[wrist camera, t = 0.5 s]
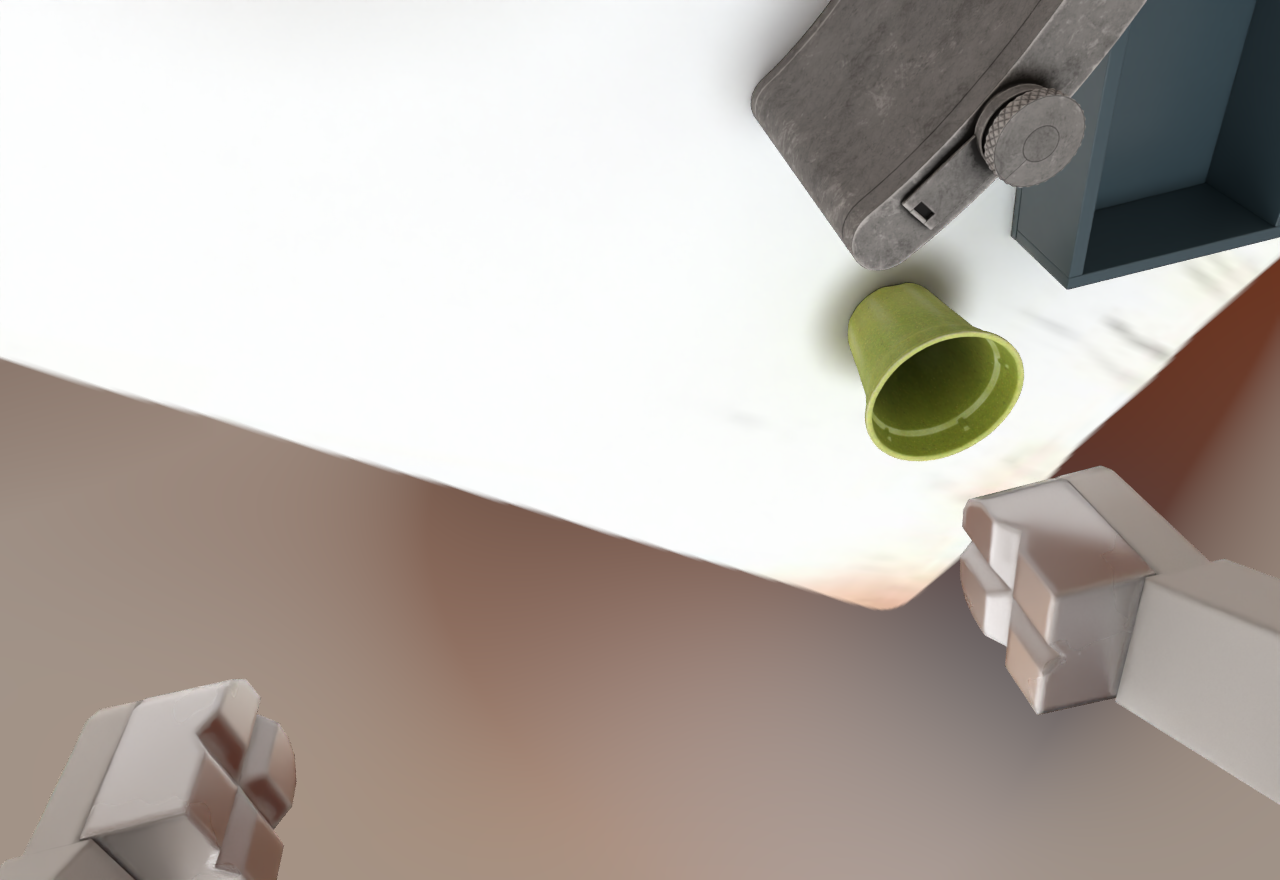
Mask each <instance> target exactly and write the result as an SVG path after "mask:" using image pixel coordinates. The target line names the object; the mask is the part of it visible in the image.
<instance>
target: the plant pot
mask: <svg viewBox="0 0 1280 880" xmlns="http://www.w3.org/2000/svg"><path fill="white" fill-rule="evenodd" d="M848 343H849V346H850V349H851V352H852V355H853V358H854V361H855V363H856V366H857V369H858V372H859V375H860V378H861V382H862V385H863V388H864V391H865V394H866V411H865V423H866V428H867V431H868V434H869V436H870V438H871V440H872V441H873V443H874V444H875V445H876V446H877V447H878V448H879V449H880V450H881V451H883V452H884V453H886V454H888V455H890V456H892V457H894V458H898V459H901V460H908V461H928V460H935V459H940V458H944V457H948V456H950V455H953V454H956V453H958V452H961V451H963V450H965V449H967V448H969V447H971V446H973V445H974V444H976V443H978V442H979V441H981V440H982V439H984V438H985V437H987V436H988V435H989V434H990V433H991V432H992V431H994V430H995V429H996V428H997V427H998V426H999V425H1000V424H1001V423H1002V422H1003V421H1004V419H1005V418H1006V417H1007V416H1008V414H1009V413H1010V412H1011V410H1012V408H1013V407H1014V405H1015V403H1016V402H1017V400H1018V398H1019V396H1020V393H1021V390H1022V386H1023V381H1024V369H1023V363H1022V360H1021V357H1020V355H1019V353H1018V352H1017V350H1016V349H1015V348H1014V347H1013V346H1012V345H1011V344H1010V343H1009V342H1008V341H1007V340H1005V339H1004V338H1002V337H1000V336H998V335H996V334H994V333H991V332H987V331H982V330H981V329H978V328H976V327H973V326H972V325H970V324H969V323H968V322H967V321H966V320H964V319H963V318H962V317H961V316H959V315H958V314H957V313H955V312H954V311H953V310H952V309H950V308H949V307H948V306H947V305H945V304H944V303H943V302H942V301H941V300H939V299H938V298H937V297H936V296H935V295H933V294H932V293H931V292H930V291H929V290H927V289H926V288H924V287H923V286H920V285H918V284H914V283H903V284H900V285H895V286H889V287H883V288H880V289H878V290H876V291H874V292H873V293H871V294H870V295H869V296H867V297H866V298H865V299H864V300H863V301H862V302H861V303H860V304H859V305H858V306H857V308H856V309H855V311H854V312H853V314H852V316H851V318H850V321H849V325H848Z"/></svg>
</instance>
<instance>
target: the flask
mask: <svg viewBox="0 0 1280 880" xmlns="http://www.w3.org/2000/svg"><path fill="white" fill-rule="evenodd" d="M1146 1H1147V0H831V1H830V3H829V4H828V6H827V7H826V8H825V10H824V11H823V12H822V13H821V15H820V16H819V17H818V19H817V20H816V21H815V22H814V24H813V25H812V26H811V27H810V29H809V30H808V31H807V32H806V33H805V34H804V36H803V37H802V38H801V39H800V40H799V42H798V43H797V44H796V45H795V46H794V47H793V48H792V49H791V51H790V52H789V53H788V54H787V55H786V56H785V57H784V58H783V59H782V60H781V61H780V62H779V63H778V64H777V65H776V67H775V68H774V69H773V70H771V71H770V72H769V73H768V74H767V75H766V76H765V77H764V78H763V79H762V80H761V81H760V82H759V84H758V85H757V86H756V88H755V89H754V92H753V94H752V99H751V109H752V112H753V115H754V117H755V118H756V120H757V121H758V123H759V124H760V125H761V127H762V128H763V130H764V131H765V132H766V134H767V135H768V137H769V138H770V140H771V141H772V142H773V144H774V145H775V147H776V148H777V149H778V151H779V152H780V154H781V155H782V156H783V158H784V159H785V161H786V162H787V164H788V165H789V166H790V168H791V169H792V171H793V172H794V173H795V175H796V176H797V178H798V179H799V181H800V182H801V183H802V185H803V186H804V188H805V189H806V190H807V192H808V193H809V195H810V196H811V198H812V199H813V200H814V202H815V203H816V205H817V206H818V207H819V209H820V210H821V212H822V213H823V215H824V216H825V217H826V219H827V220H828V222H829V223H830V224H831V226H832V227H833V229H834V230H835V232H836V233H837V234H838V236H839V237H840V239H841V240H842V241H843V243H844V244H845V246H846V247H847V249H848V250H849V251H850V253H851V254H852V256H853V257H854V258H855V260H856V261H857V262H858V263H859V264H860V265H861V266H862V267H864V268H866V269H870V270H886V269H889V268H892V267H894V266H896V265H899V264H900V263H902V262H903V261H905V260H906V259H907V258H908V257H910V256H911V255H912V254H913V253H915V252H916V251H917V250H918V249H919V248H921V247H922V246H923V245H924V244H926V243H927V242H928V241H929V240H930V239H931V238H933V237H934V236H935V235H936V234H937V233H938V232H940V231H941V230H942V229H943V228H944V227H945V226H947V225H948V224H949V223H950V222H951V221H952V220H953V219H954V218H955V217H957V216H958V215H959V214H960V213H961V212H962V211H963V210H964V209H965V208H966V207H967V206H969V205H970V204H971V203H972V202H973V201H974V200H975V199H976V198H977V197H978V196H979V195H980V194H981V193H982V192H983V191H984V190H985V189H986V188H987V187H988V186H989V185H990V184H991V183H992V182H993V181H994V180H995V179H996V178H997V177H999V179H1001V180H1003V181H1004V182H1005V183H1006V184H1010V185H1011V186H1017V187H1020V188H1021V187H1030V186H1033V185H1038V184H1040V183H1042V182H1046V181H1047V180H1049V179H1050V178H1052V177H1054V176H1055V175H1056V174H1057V173H1058V172H1060V171H1062V170H1063V169H1064V167H1065V166H1066V165H1067V164H1068V163H1070V161H1071V159H1072V158H1073V157H1074V156H1075V155H1076V153H1077V150H1078V148H1079V147H1080V146H1081V142H1082V139H1083V137H1084V131H1085V128H1086V126H1085V120H1086V119H1085V116H1084V111H1083V110H1082V109H1081V106H1080V104H1078V103H1077V102H1076V101H1075V99H1072V98H1071V97H1072V96H1073V95H1074V93H1075V92H1076V91H1077V90H1078V89H1079V88H1080V86H1081V85H1082V84H1083V83H1084V81H1085V80H1086V79H1087V78H1088V77H1089V75H1090V74H1091V73H1092V72H1093V70H1094V69H1095V68H1096V67H1097V66H1098V64H1099V63H1100V62H1101V61H1102V59H1103V58H1104V57H1105V55H1106V54H1107V53H1108V52H1109V50H1110V49H1111V48H1112V47H1113V45H1114V44H1115V43H1116V42H1117V40H1118V39H1119V38H1120V36H1121V35H1122V34H1123V32H1124V31H1125V30H1126V28H1127V27H1128V26H1129V24H1130V23H1131V21H1132V20H1133V19H1134V17H1135V16H1136V15H1137V13H1138V12H1139V11H1140V9H1141V8H1142V7H1143V5H1144V4H1145V2H1146Z"/></svg>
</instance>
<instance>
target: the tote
mask: <svg viewBox="0 0 1280 880" xmlns="http://www.w3.org/2000/svg"><path fill="white" fill-rule="evenodd" d="M1071 98H1072V99H1075V101H1076V102H1077V103H1078V104H1080V106H1081V109H1082V110H1083V111H1084V116H1085V119H1086V120H1085V126H1086V128H1085V131H1084V137H1083V139H1082V142H1081V146H1080V147H1079V148H1078V150H1077V153H1076V155H1075V156H1074V157H1073V158H1072V159H1071V161H1070V163H1068V164H1067V165H1066V166H1065V167H1064V169H1063V170H1062V171H1060V172H1058V173H1057V174H1056V175H1055V176H1054V177H1052V178H1050V179H1049V180H1047V181H1046V182H1042V183H1040V184H1038V185H1033V186H1030V187H1021V188H1020V187H1017V193H1016V201H1015V209H1014V217H1013V226H1012V234H1011V236H1012V237H1013V238H1014V239H1015V240H1016V241H1017V242H1018V243H1019V244H1020V245H1021V246H1022V247H1023V248H1024V249H1025V250H1026V251H1027V252H1028V253H1029V254H1030V255H1031V256H1032V257H1034V258H1035V259H1036V260H1037V261H1038V262H1039V263H1040V264H1041V265H1042V266H1043V267H1044V268H1045V269H1046V270H1047V271H1048V272H1049V273H1050V274H1051V275H1052V276H1053V277H1054V278H1055V279H1056V280H1057V281H1058V282H1059V283H1060V284H1062V285H1063V286H1064V287H1065V288H1066V289H1072V288H1076V287H1080V286H1084V285H1089V284H1093V283H1097V282H1101V281H1105V280H1109V279H1113V278H1117V277H1121V276H1125V275H1129V274H1133V273H1137V272H1141V271H1145V270H1149V269H1153V268H1157V267H1161V266H1165V265H1169V264H1173V263H1177V262H1182V261H1186V260H1190V259H1194V258H1198V257H1202V256H1206V255H1210V254H1214V253H1218V252H1222V251H1226V250H1230V249H1234V248H1238V247H1242V246H1246V245H1250V244H1254V243H1258V242H1262V241H1266V240H1271V239H1275V238H1279V237H1280V0H1147V1H1146V2H1145V4H1144V5H1143V7H1142V8H1141V9H1140V11H1139V12H1138V13H1137V15H1136V16H1135V17H1134V19H1133V20H1132V21H1131V23H1130V24H1129V26H1128V27H1127V28H1126V30H1125V31H1124V32H1123V34H1122V35H1121V36H1120V38H1119V39H1118V40H1117V42H1116V43H1115V44H1114V45H1113V47H1112V48H1111V49H1110V50H1109V52H1108V53H1107V54H1106V55H1105V57H1104V58H1103V59H1102V61H1101V62H1100V63H1099V64H1098V66H1097V67H1096V68H1095V69H1094V70H1093V72H1092V73H1091V74H1090V75H1089V77H1088V78H1087V79H1086V80H1085V81H1084V83H1083V84H1082V85H1081V86H1080V88H1079V89H1078V90H1077V91H1076V92H1075V93H1074V95H1073V96H1072V97H1071Z"/></svg>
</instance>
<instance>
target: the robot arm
mask: <svg viewBox="0 0 1280 880" xmlns="http://www.w3.org/2000/svg"><path fill="white" fill-rule="evenodd" d="M962 527H963V528H964V530H965V531H966V533H967V534H968V535H969V537H970V538H971V540H972V542H971V543H970V544H969V545H968V547H967V548H966V549H965V550H964V552H963V553H962V554H961V556H960V579H961V583H962V587H963V592H964V596H965V600H966V602H967V604H968V607H969V609H970V611H971V613H972V615H973V617H974V619H975V621H976V622H977V624H978V625H979V627H980V628H981V630H982V632H983V633H984V635H986V636H988V637H989V638H991V639H993V640H995V641H997V642H999V643H1001V644H1003V645H1005V646H1007V653H1006V662H1005V667H1006V668H1007V670H1008V671H1009V673H1010V674H1011V676H1012V677H1013V679H1014V680H1015V682H1016V683H1017V685H1018V686H1019V688H1020V689H1021V691H1022V692H1023V694H1024V695H1025V697H1026V698H1027V700H1028V701H1029V703H1030V704H1031V706H1032V707H1033V709H1034V710H1035V712H1036V713H1037V715H1040V714H1045V713H1049V712H1054V711H1058V710H1063V709H1067V708H1072V707H1076V706H1081V705H1085V704H1090V703H1094V702H1099V701H1103V700H1108V699H1112V698H1116V701H1115V702H1116V703H1118V704H1120V705H1121V706H1123V707H1124V708H1126V709H1128V710H1129V711H1131V712H1132V713H1134V714H1135V715H1137V716H1139V717H1140V718H1142V719H1144V720H1145V721H1147V722H1148V723H1150V724H1152V725H1153V726H1155V727H1156V728H1158V729H1159V730H1161V731H1163V732H1164V733H1166V734H1167V735H1169V736H1171V737H1173V738H1174V739H1175V740H1177V741H1179V742H1180V743H1182V744H1184V745H1185V746H1187V747H1188V748H1190V749H1191V750H1193V751H1195V752H1196V753H1198V754H1200V755H1201V756H1203V757H1204V758H1206V759H1207V760H1209V761H1211V762H1212V763H1214V764H1215V765H1217V766H1219V767H1220V768H1222V769H1223V770H1225V771H1227V772H1228V773H1230V774H1232V775H1233V776H1235V777H1236V778H1238V779H1239V780H1241V781H1243V782H1244V783H1246V784H1248V785H1249V786H1251V787H1252V788H1254V789H1255V790H1257V791H1259V792H1260V793H1262V794H1263V795H1265V796H1267V797H1268V798H1270V799H1271V800H1273V801H1275V802H1276V803H1278V804H1279V805H1280V579H1279V578H1276V577H1273V576H1270V575H1268V574H1265V573H1262V572H1259V571H1257V570H1254V569H1251V568H1248V567H1246V566H1243V565H1240V564H1238V563H1235V562H1232V561H1229V560H1227V559H1222V560H1217V561H1212V562H1210V561H1209V560H1208V559H1207V558H1206V557H1205V556H1204V555H1203V554H1202V553H1201V552H1199V551H1198V550H1197V549H1196V548H1195V547H1194V546H1193V545H1192V544H1191V543H1190V542H1189V541H1188V540H1186V538H1185V537H1183V536H1182V535H1181V534H1180V533H1179V532H1178V531H1177V530H1176V529H1175V528H1174V527H1173V526H1172V525H1171V524H1170V523H1169V522H1167V521H1166V520H1165V519H1164V518H1163V517H1162V516H1161V515H1160V514H1159V513H1158V512H1157V511H1156V510H1154V508H1153V507H1151V506H1150V505H1149V504H1148V503H1147V502H1146V501H1145V500H1144V499H1143V498H1142V497H1141V496H1140V495H1139V494H1138V493H1137V492H1135V491H1134V490H1133V489H1132V488H1131V487H1130V486H1129V485H1128V484H1127V483H1126V482H1125V481H1124V480H1123V479H1122V478H1121V477H1119V476H1118V475H1117V474H1116V473H1115V472H1114V471H1113V470H1111V469H1108V468H1106V467H1103V466H1098V467H1094V468H1090V469H1087V470H1082V471H1079V472H1074V473H1070V474H1066V475H1062V476H1059V477H1056V478H1055V479H1047V480H1043V481H1039V482H1035V483H1032V484H1028V485H1024V486H1020V487H1016V488H1012V489H1008V490H1004V491H1000V492H996V493H992V494H988V495H984V496H980V497H976V498H972V499H969V500H968V502H967V504H966V506H965V508H964V510H963V523H962ZM260 700H261V697H260V696H259V695H258V694H257V692H256V691H255V690H254V688H253V687H252V686H251V685H250V683H249V682H248V681H247V680H246V679H232V680H228V681H223V682H219V683H214V684H209V685H205V686H200V687H196V688H191V689H186V690H182V691H177V692H173V693H168V694H164V695H159V696H155V697H150V698H146V699H144V700H141V701H136V702H131V703H127V704H122V705H118V706H113V707H108V708H104V709H100V710H99V711H97V712H96V713H95V714H94V715H93V716H92V717H90V718H89V719H88V720H87V721H86V723H85V725H84V727H83V729H82V731H81V733H80V735H79V737H78V739H77V741H76V743H75V746H74V748H73V750H72V752H71V754H70V757H69V758H68V761H67V763H66V765H65V767H64V769H63V771H62V773H61V775H60V777H59V779H58V782H57V784H56V786H55V788H54V790H53V792H52V794H51V796H50V798H49V801H48V803H47V805H46V807H45V809H44V811H43V813H42V815H41V818H40V819H39V822H38V824H37V826H36V828H35V830H34V832H33V834H32V836H31V838H30V841H29V843H28V845H27V847H26V849H25V852H24V853H23V855H22V856H19V857H15V858H12V859H8V860H6V861H5V862H4V863H3V864H2V865H1V866H0V880H277V876H278V871H279V866H280V862H281V857H282V852H283V847H284V845H283V843H282V842H281V840H280V839H279V837H278V835H277V834H276V832H275V831H274V828H275V827H276V826H277V825H278V824H279V822H280V821H281V820H282V818H283V817H284V816H285V815H286V813H287V812H288V811H289V810H290V808H291V807H292V802H293V797H294V791H295V787H296V769H295V755H294V752H293V749H292V746H291V744H290V741H289V738H288V736H287V734H286V733H285V731H284V730H283V729H282V727H281V726H280V724H279V723H278V722H275V721H273V720H270V719H268V718H266V717H263V716H261V715H258V714H257V712H258V708H259V704H260Z"/></svg>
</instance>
